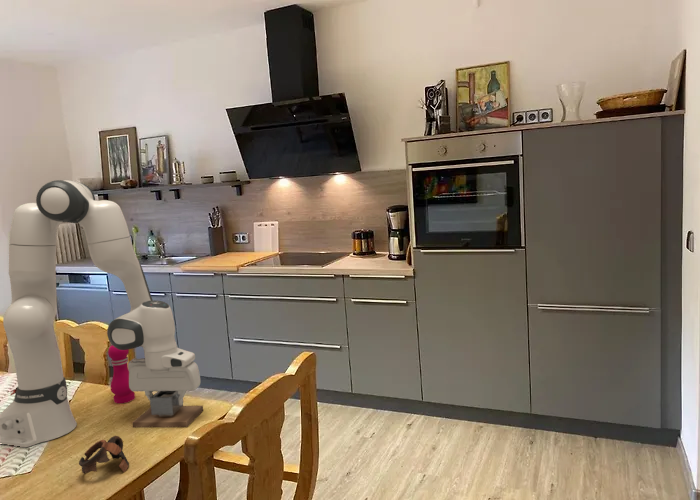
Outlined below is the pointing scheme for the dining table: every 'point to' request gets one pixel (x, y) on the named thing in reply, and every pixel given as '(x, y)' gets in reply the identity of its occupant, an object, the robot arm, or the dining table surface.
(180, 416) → the post stand
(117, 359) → the pepper mill
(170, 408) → the grey open box
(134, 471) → the dining table surface
